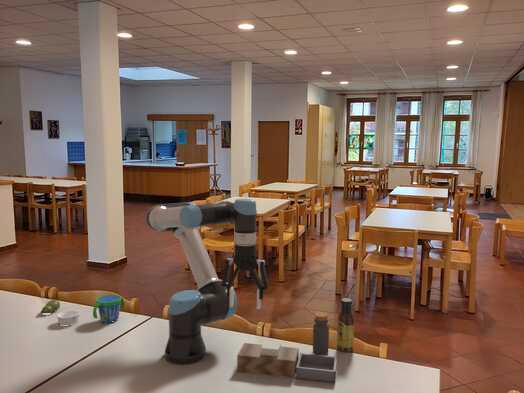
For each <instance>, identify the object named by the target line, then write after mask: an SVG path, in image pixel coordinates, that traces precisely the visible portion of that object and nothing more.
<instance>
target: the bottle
mask: <svg viewBox="0 0 524 393" xmlns="http://www.w3.org/2000/svg"><path fill="white" fill-rule="evenodd" d="M314 316H315V317H314V319H313V320H314V324H313V326H312V329H313V330H312V354H314V355H325V356H328V354H329V344H330V343H329V342H330V341H329V340H330V339H329V337H330V326H329V319H328V314H327V313H326V312H322V311H321V312H320V311H319V312H315V314H314Z"/></svg>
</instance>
